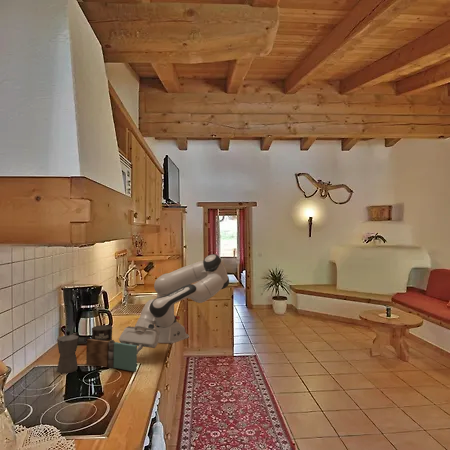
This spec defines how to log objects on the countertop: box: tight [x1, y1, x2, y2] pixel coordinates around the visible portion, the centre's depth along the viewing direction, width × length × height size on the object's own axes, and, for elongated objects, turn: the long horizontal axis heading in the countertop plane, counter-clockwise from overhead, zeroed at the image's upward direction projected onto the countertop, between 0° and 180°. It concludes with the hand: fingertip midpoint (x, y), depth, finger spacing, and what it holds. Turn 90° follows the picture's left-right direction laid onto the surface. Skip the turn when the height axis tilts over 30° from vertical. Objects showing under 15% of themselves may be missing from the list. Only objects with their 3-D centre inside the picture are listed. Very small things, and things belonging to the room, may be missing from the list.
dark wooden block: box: [85, 338, 116, 369], centre depth 175 cm, size 15×3×13 cm, turn 73°
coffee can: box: [91, 324, 113, 341], centre depth 190 cm, size 10×10×14 cm
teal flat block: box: [108, 341, 138, 372], centre depth 170 cm, size 15×3×12 cm, turn 68°
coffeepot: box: [56, 330, 80, 375], centre depth 170 cm, size 15×9×18 cm, turn 171°
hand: (132, 353), depth 177 cm, fingers closed
